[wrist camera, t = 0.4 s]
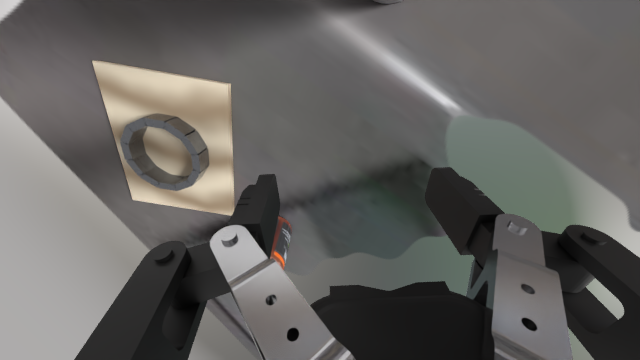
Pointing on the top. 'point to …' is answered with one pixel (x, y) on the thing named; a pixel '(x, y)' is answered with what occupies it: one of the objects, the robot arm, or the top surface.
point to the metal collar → (147, 168)
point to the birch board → (161, 146)
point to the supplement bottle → (281, 241)
